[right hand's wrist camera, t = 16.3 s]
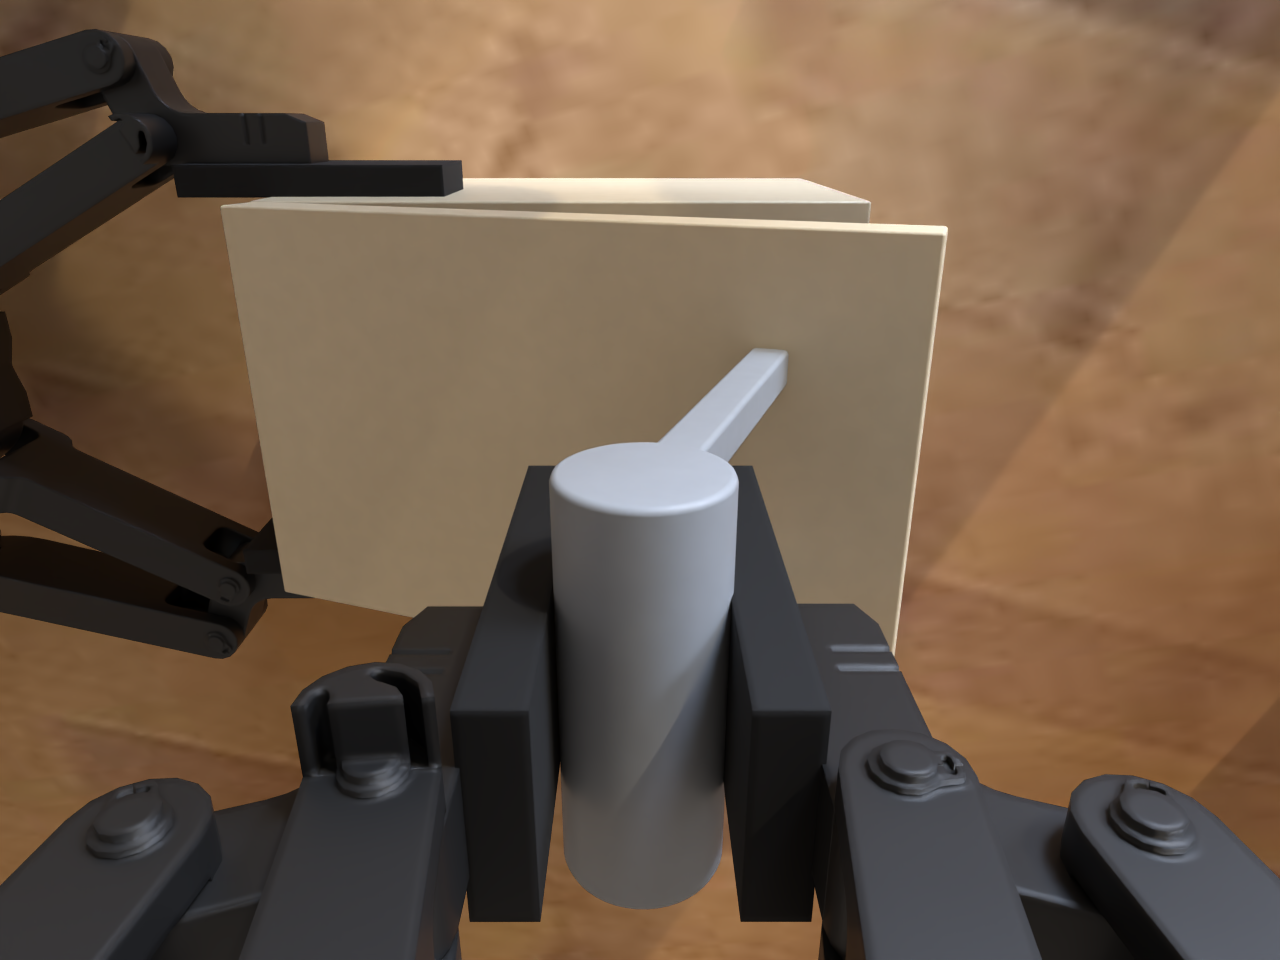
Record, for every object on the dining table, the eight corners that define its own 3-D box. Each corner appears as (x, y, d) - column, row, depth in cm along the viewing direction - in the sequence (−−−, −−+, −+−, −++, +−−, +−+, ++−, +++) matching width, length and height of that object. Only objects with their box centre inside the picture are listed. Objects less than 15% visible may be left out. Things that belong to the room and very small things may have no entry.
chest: (802, 178, 29) (871, 201, 21) (784, 454, 33) (837, 570, 24) (360, 178, 29) (247, 200, 21) (391, 455, 33) (306, 572, 24)
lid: (948, 225, 16) (911, 336, 8) (891, 684, 19) (824, 1089, 11) (255, 201, 20) (-222, 252, 12) (312, 573, 24) (-28, 802, 16)
